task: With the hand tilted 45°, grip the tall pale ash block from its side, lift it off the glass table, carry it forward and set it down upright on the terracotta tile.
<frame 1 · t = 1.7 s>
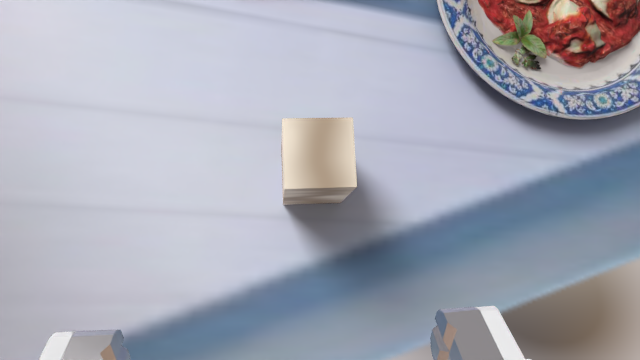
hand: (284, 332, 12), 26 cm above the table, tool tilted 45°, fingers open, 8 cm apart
ceramic plate: (551, 4, 45), on the table
ash block: (311, 175, 39), on the table
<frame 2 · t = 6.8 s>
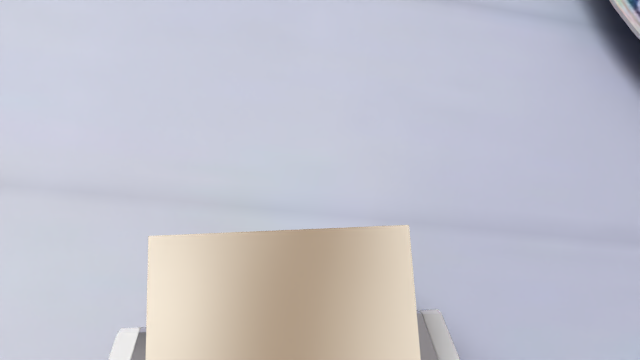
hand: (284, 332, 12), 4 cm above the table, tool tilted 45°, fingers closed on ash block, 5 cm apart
ash block: (284, 319, 16), on the table, touching gripper
when the fingers open (6 cm above the table, at t = 14.2 s): ash block stays where it is, resting on terracotta tile.
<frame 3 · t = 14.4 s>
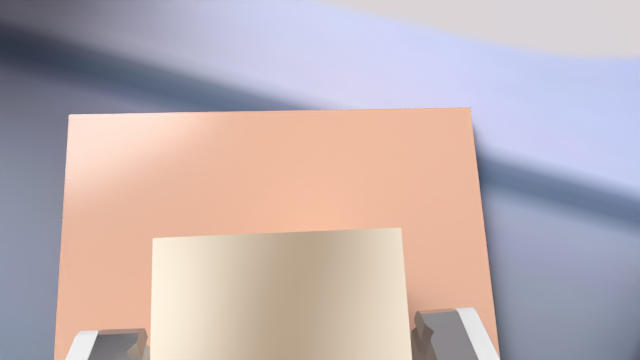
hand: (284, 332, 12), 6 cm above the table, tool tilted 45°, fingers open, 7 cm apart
terracotta tile: (284, 315, 17), on the table
ash block: (282, 318, 16), point 1 cm above the table, touching terracotta tile
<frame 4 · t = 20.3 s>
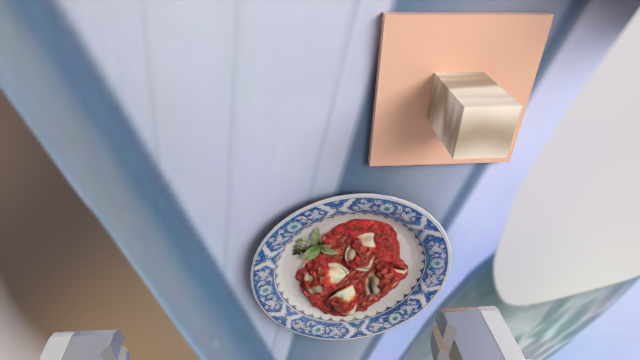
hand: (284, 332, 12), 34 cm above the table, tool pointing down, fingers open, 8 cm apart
terracotta tile: (451, 92, 46), on the table
ceramic plate: (349, 263, 59), on the table
ash block: (454, 96, 45), point 1 cm above the table, touching terracotta tile
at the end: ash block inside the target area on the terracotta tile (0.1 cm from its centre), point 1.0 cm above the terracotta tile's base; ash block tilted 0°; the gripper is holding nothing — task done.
